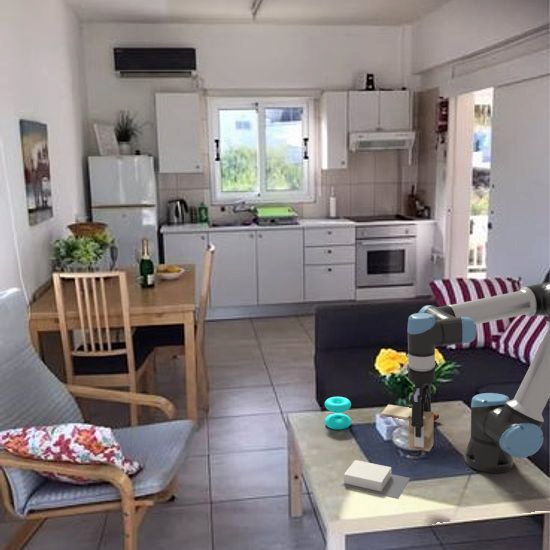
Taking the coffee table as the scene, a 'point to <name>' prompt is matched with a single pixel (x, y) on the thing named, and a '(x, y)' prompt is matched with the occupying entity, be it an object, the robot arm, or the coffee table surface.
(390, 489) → the board
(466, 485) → the coffee table surface
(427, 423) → the wooden bridge
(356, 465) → the tile
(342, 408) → the donuts
